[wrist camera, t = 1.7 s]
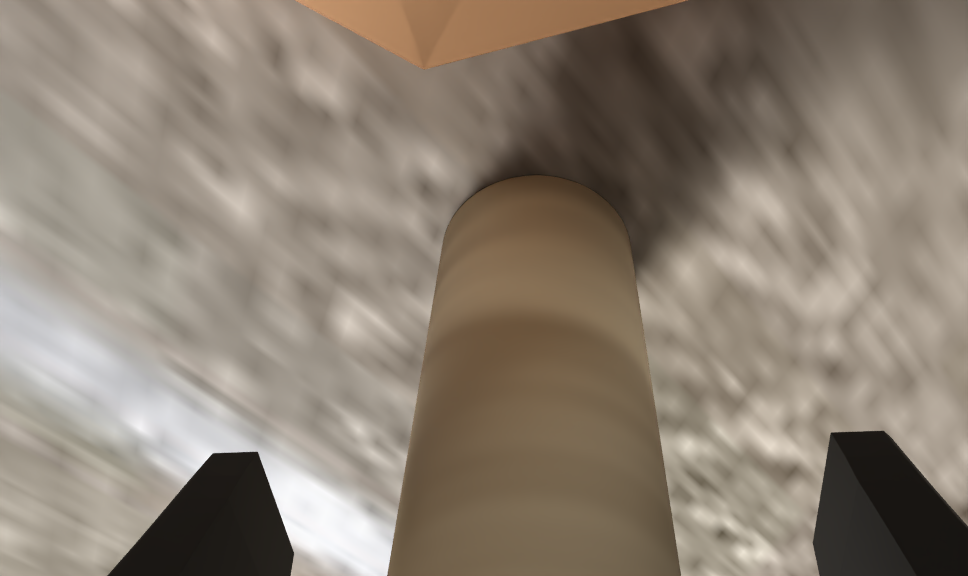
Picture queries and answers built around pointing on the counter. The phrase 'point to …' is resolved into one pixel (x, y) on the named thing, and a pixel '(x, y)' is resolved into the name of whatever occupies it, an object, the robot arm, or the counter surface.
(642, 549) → the dowel
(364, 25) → the orange faceted ring
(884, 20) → the counter surface
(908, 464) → the robot arm
